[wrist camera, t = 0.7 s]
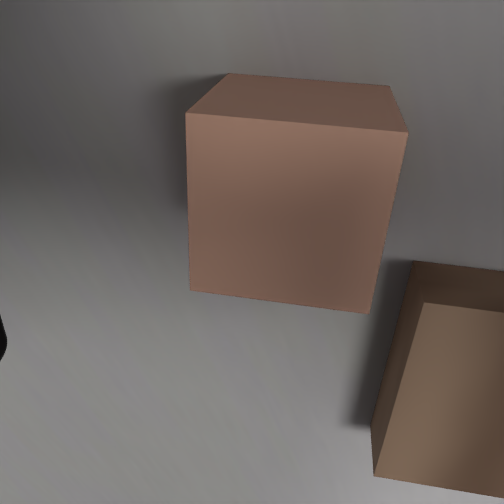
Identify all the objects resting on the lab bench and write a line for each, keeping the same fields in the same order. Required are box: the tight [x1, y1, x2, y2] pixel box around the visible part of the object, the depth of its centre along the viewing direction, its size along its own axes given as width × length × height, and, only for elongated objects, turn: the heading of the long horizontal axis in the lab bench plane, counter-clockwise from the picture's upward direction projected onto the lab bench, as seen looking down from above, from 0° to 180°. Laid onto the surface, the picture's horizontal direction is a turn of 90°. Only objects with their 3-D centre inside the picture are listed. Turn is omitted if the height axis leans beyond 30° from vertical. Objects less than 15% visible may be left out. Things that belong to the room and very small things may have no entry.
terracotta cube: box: [185, 73, 409, 314], centre depth 14 cm, size 5×5×5 cm
